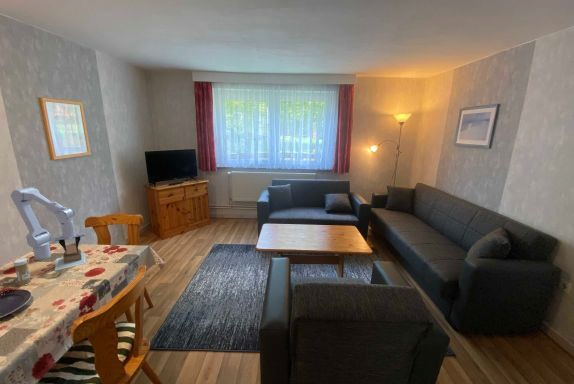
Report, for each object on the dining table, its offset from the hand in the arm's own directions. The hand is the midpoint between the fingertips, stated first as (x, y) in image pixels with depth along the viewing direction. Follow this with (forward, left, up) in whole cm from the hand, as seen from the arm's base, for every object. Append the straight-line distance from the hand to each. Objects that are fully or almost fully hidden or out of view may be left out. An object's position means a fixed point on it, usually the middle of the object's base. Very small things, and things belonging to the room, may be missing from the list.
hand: (71, 250), depth 152 cm
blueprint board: (+3, -1, -7) cm, 7 cm away
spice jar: (+17, -19, -7) cm, 26 cm away
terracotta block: (0, 0, -2) cm, 2 cm away
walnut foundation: (0, 0, -6) cm, 6 cm away
